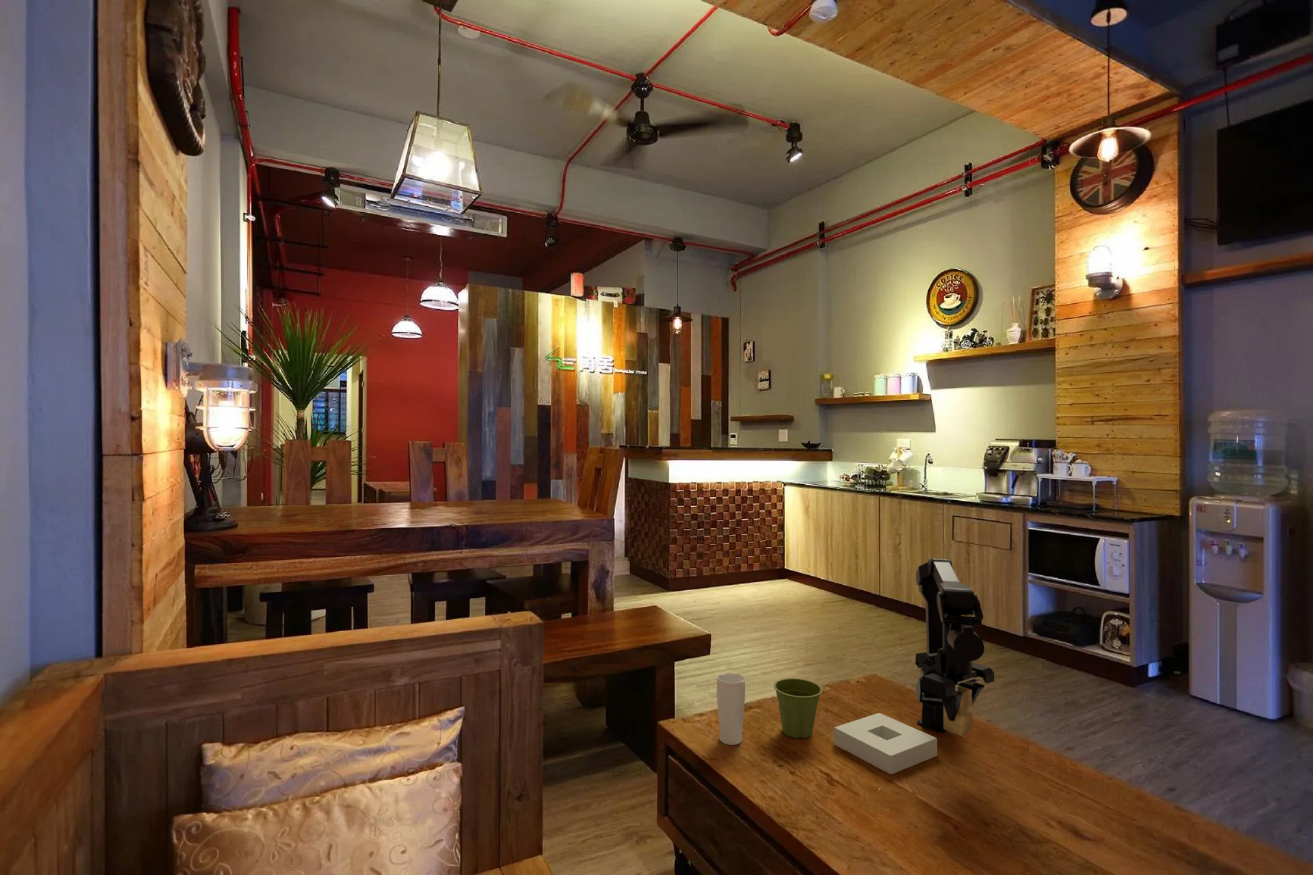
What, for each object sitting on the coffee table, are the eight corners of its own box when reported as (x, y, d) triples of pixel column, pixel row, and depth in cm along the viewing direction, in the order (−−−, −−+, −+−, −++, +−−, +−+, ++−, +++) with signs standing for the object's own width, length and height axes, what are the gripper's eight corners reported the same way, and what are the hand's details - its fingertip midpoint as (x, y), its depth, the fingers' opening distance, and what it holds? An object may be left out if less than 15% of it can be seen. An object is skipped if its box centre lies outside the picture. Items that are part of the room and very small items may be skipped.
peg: (954, 724, 139) (954, 683, 139) (971, 731, 135) (971, 689, 136) (943, 728, 137) (943, 687, 137) (960, 736, 133) (960, 693, 133)
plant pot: (768, 738, 152) (768, 691, 152) (778, 718, 163) (778, 675, 163) (818, 747, 147) (818, 699, 147) (825, 727, 158) (825, 682, 158)
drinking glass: (744, 735, 153) (744, 673, 154) (745, 748, 147) (745, 683, 147) (716, 733, 154) (716, 672, 154) (716, 746, 147) (716, 682, 148)
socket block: (879, 728, 157) (879, 712, 157) (936, 755, 144) (936, 738, 144) (834, 744, 149) (834, 727, 149) (890, 774, 135) (890, 755, 135)
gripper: (949, 630, 148) (949, 697, 148) (897, 642, 138) (897, 714, 138) (995, 643, 139) (995, 714, 138) (943, 657, 129) (944, 733, 129)
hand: (957, 718), depth 136 cm, fingers closed on peg, 4 cm apart
